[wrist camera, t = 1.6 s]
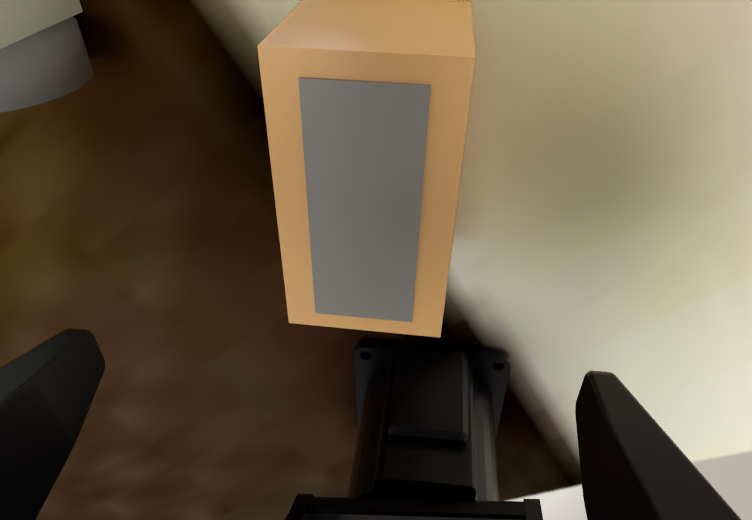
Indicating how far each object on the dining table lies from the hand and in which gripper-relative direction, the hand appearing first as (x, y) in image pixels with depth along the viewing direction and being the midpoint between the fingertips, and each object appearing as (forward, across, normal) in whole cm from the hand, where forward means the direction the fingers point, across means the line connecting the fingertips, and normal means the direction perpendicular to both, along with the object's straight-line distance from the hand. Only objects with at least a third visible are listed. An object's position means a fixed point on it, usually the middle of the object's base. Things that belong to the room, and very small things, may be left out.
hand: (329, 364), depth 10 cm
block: (+10, 0, 0) cm, 10 cm away
